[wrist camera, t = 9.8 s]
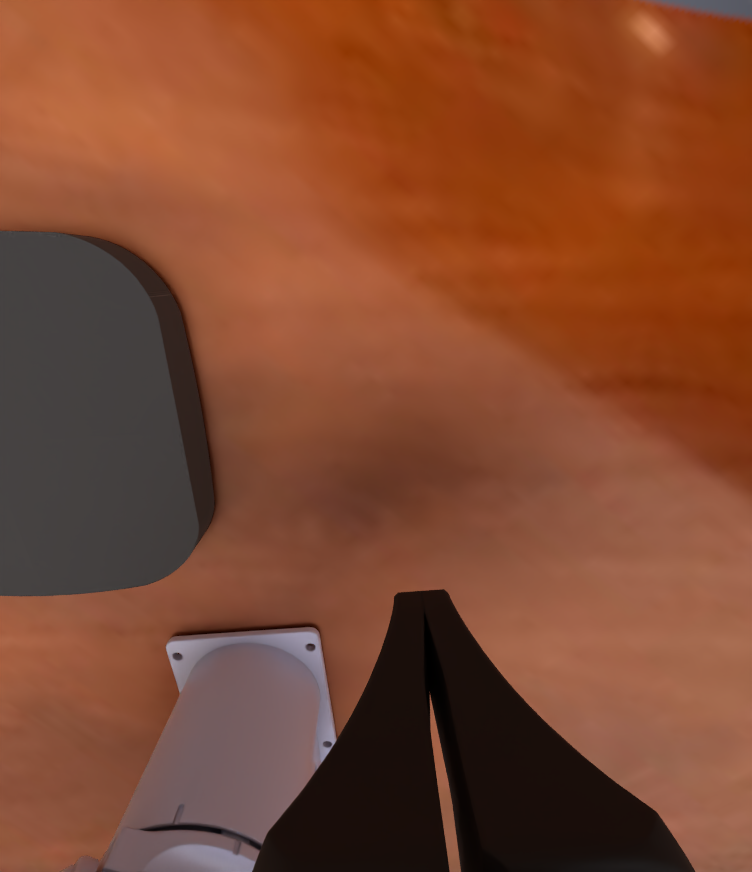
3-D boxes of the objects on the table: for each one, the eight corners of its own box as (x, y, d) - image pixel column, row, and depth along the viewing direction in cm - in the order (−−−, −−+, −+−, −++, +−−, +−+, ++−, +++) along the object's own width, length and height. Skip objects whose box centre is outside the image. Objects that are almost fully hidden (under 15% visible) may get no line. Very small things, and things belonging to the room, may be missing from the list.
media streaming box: (230, 554, 23) (209, 595, 20) (-63, 564, 23) (-125, 605, 20) (174, 229, 18) (135, 221, 15) (-198, 246, 18) (-306, 242, 15)
